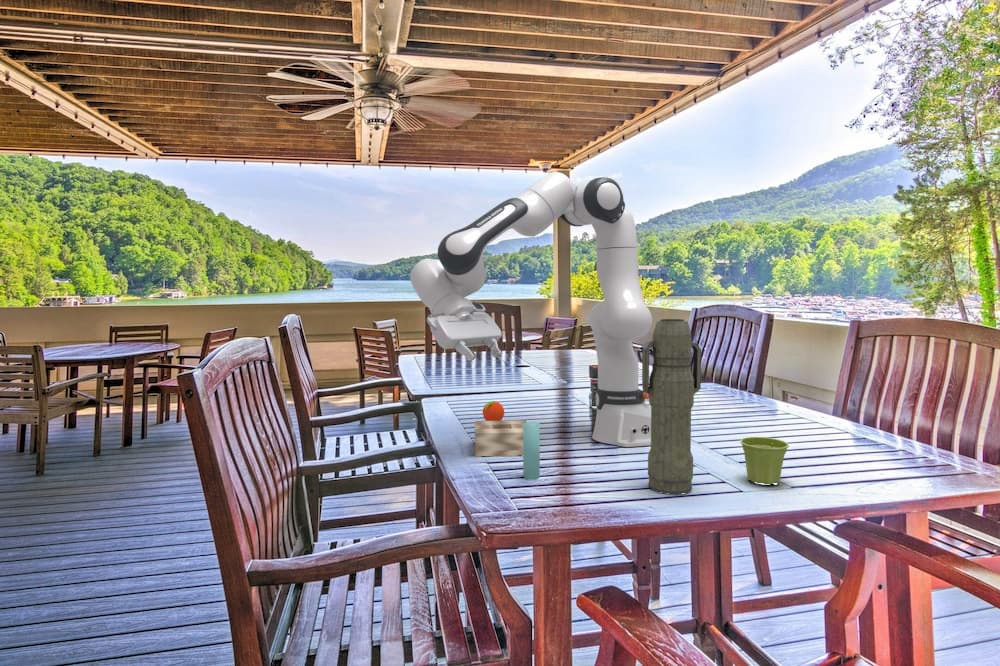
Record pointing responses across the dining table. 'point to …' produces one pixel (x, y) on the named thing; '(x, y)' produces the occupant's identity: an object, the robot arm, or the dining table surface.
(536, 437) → the teal pin
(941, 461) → the dining table surface
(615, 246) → the robot arm
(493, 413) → the clementine
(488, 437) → the maple block
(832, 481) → the dining table surface
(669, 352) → the thermos
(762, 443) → the plant pot
